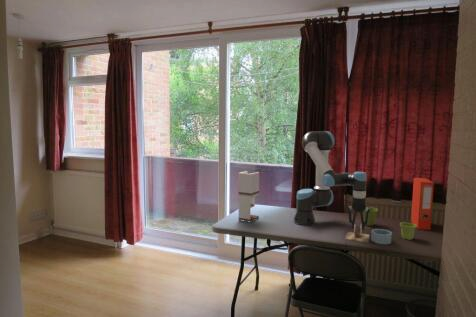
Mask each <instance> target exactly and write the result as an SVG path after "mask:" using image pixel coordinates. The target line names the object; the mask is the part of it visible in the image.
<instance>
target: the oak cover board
mask: <svg viewBox="0 0 476 317" xmlns="http://www.w3.org/2000/svg"><path fill="white" fill-rule="evenodd" d="M369 236H370V237H371V235H370V234H367V233H362V235H361V236H360V225H356V227H355V235H354V231H353V232H352V231H348V232H347V233H346V235H345V237H346V238H344V239H345V240H344V241H350V240H353V241H352V242H357V241H360V243H365V242H367V243H366V244H369V243H368V241H369V242H370V240H369Z"/></svg>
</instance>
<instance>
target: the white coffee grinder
mask: <svg viewBox="0 0 476 317" xmlns="http://www.w3.org/2000/svg"><path fill="white" fill-rule="evenodd" d="M248 172H249V171H247V170H245V171H240V172H238V221H239V220H244V221H243V222H245V221H250V222H252V221H253V222H255V221H257V220H258V219H257V218H259V219H260V217H259V215H254V214H251V208H253V207H255V201H256V200H255V199H256V197H257V196H260V172H259V171H256V172H252V173H248ZM256 219H257V220H256ZM254 220H255V221H254ZM250 222H249V223H250ZM253 222H252V223H253Z"/></svg>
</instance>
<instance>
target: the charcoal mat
mask: <svg viewBox="0 0 476 317" xmlns="http://www.w3.org/2000/svg"><path fill="white" fill-rule="evenodd" d="M345 238H346V236H345ZM345 238H344V239H343V240H344V241H346V240H345ZM349 241H350V242H354V241H353V240H349ZM370 241H371V235H370V236H369V241H368V243H367V242H364V243H366V244H370ZM356 242H360V241H356ZM360 243H361V242H360Z"/></svg>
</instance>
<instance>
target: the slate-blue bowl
mask: <svg viewBox="0 0 476 317" xmlns="http://www.w3.org/2000/svg"><path fill="white" fill-rule="evenodd" d="M392 233H393V232H392V231H390V230H388V229H383V228H374V229H371V235H370V241H371V242H373V243H376V244H380V245H389V244H390V245H391V244H392V236H393V234H392Z"/></svg>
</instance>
